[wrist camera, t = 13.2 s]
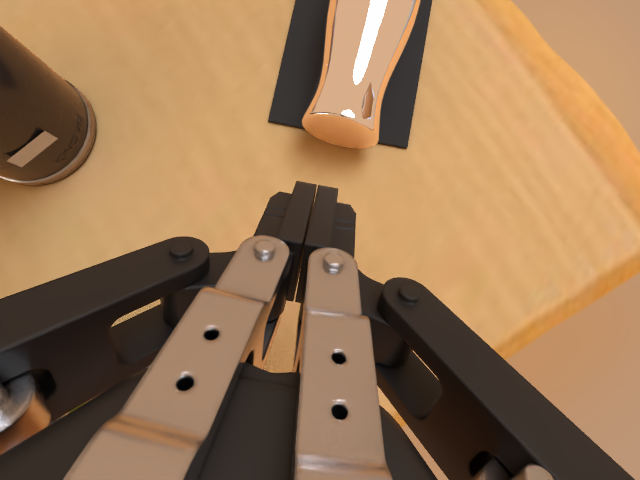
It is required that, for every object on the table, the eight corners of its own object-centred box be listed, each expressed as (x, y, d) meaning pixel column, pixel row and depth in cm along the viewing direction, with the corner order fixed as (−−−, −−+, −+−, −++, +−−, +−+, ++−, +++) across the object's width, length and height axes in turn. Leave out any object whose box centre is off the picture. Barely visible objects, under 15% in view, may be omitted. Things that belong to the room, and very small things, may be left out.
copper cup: (336, 153, 32) (377, -1, 33) (401, 149, 27) (447, -32, 28) (277, 117, 27) (327, -61, 28) (343, 104, 22) (400, -113, 23)
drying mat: (406, 148, 30) (407, 147, 30) (268, 122, 30) (268, 120, 30) (434, -15, 32) (435, -18, 32) (305, -40, 32) (305, -43, 32)
